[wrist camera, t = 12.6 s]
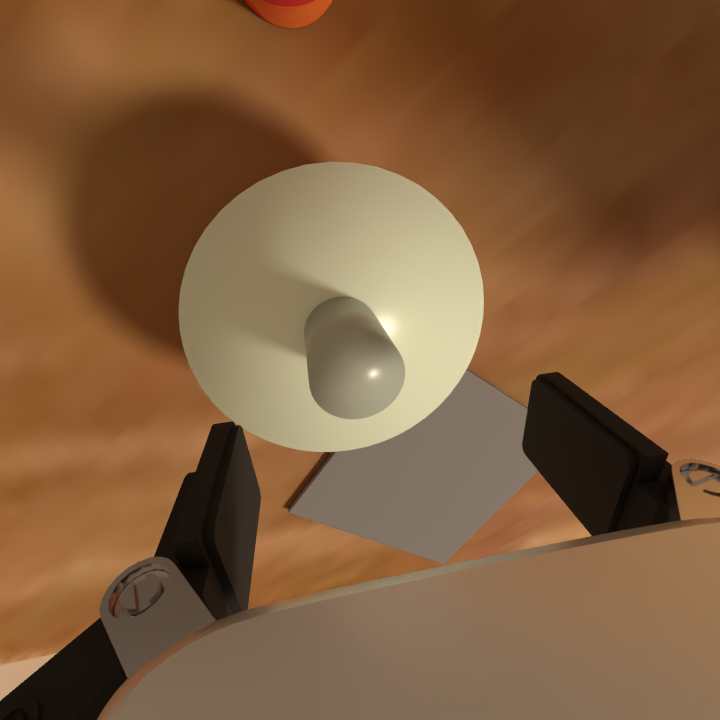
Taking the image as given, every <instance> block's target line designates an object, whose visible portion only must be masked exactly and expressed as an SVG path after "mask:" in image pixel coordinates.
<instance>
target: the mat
mask: <svg viewBox="0 0 720 720" xmlns="http://www.w3.org/2000/svg"><path fill="white" fill-rule="evenodd" d="M527 410H528V408H527V407H525V406H524V405H522V404H520V403H519V402H517V401H516V400H514V399H513V398H511V397H510V396H508V395H507V394H505V393H503V392H502V391H500V390H499V389H497V388H496V387H494V386H493V385H491V384H490V383H488V382H486V381H485V380H483V379H482V378H480V377H479V376H477V375H476V374H474V373H472V372H471V371H469V370H468V369H466V371H465V373H464V374H463V376H462V378H461V379H460V381H459V383H458V384H457V385H456V387H455V388H454V389H453V391H452V392H451V393H450V395H449V396H448V397H447V398H446V399H445V400H444V401H443V402H442V403H441V404H440V405H439V406H438V407H437V408H436V409H435V410H434V411H433V412H432V413H430V414H429V415H428V416H427V417H426V418H424V419H423V420H422V421H420V422H419V423H417V424H416V425H414V426H413V427H412V428H410V429H408V430H406V431H404V432H403V433H401V434H399V435H397V436H395V437H392V438H390V439H388V440H385V441H383V442H380V443H377V444H374V445H371V446H368V447H363V448H358V449H354V450H347V451H337V452H332V453H331V455H330V456H329V457H328V458H327V460H326V461H325V462H324V464H323V465H322V466H321V467H320V469H319V470H318V471H317V473H316V474H315V475H314V476H313V478H312V479H311V480H310V482H309V483H308V484H307V485H306V487H305V488H304V489H303V491H302V492H301V493H300V494H299V496H298V497H297V498H296V500H295V501H294V502H293V503H292V505H291V506H290V507H289V513H290V514H293V515H296V516H300V517H303V518H306V519H309V520H312V521H315V522H318V523H321V524H324V525H327V526H330V527H333V528H336V529H339V530H342V531H345V532H348V533H351V534H354V535H357V536H360V537H363V538H366V539H369V540H372V541H375V542H378V543H382V544H385V545H388V546H391V547H394V548H397V549H400V550H403V551H406V552H409V553H412V554H415V555H418V556H421V557H424V558H427V559H430V560H433V561H436V562H439V563H442V564H444V563H445V562H446V561H447V560H448V559H449V558H450V557H451V556H452V555H453V554H454V553H455V552H456V551H457V550H458V549H459V548H460V547H461V546H462V545H463V544H464V543H465V542H466V541H467V540H468V539H469V538H470V537H471V536H472V535H473V534H474V533H475V532H476V531H477V530H479V529H480V528H481V527H482V526H483V525H484V524H485V523H486V522H487V521H488V520H489V519H490V518H491V517H492V516H493V515H494V514H495V513H496V512H497V511H498V510H499V509H500V508H501V507H502V506H503V505H504V504H505V503H506V502H507V501H508V500H509V499H510V498H511V497H512V496H513V495H514V494H515V493H516V492H517V491H518V490H519V489H520V488H521V487H522V486H523V485H524V484H525V483H526V482H527V481H529V480H530V479H531V478H532V477H533V476H534V475H535V474H536V473H537V472H538V470H537V469H536V467H535V466H534V465H533V464H532V463H531V461H530V460H529V459H528V458H527V456H526V455H525V454H524V452H523V448H522V441H523V435H524V428H525V422H526V416H527Z"/></svg>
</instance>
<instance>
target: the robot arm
mask: <svg viewBox="0 0 720 720" xmlns="http://www.w3.org/2000/svg"><path fill="white" fill-rule="evenodd" d="M522 448H523V452H524V454H525V455H526V456H527V458H528V459H529V460H530V461H531V463H532V464H533V465H534V466H535V467H536V469H537V470H538V471H539V472H540V473H541V475H542V476H543V477H544V478H545V480H546V481H547V482H548V483H549V484H550V486H551V487H552V488H553V489H554V490H555V492H556V493H557V494H558V495H559V496H560V498H561V499H562V500H563V501H564V503H565V504H566V505H567V506H568V507H569V509H570V510H571V511H572V512H573V513H574V515H575V516H576V517H577V518H578V520H579V521H580V522H581V523H582V524H583V526H584V527H585V528H586V529H587V530H588V532H589V533H590V534H591V535H592V536H591V537H586V538H581V539H576V540H571V541H565V542H560V543H555V544H550V545H545V546H540V547H535V548H530V549H525V550H520V551H515V552H510V553H505V554H500V555H495V556H490V557H485V558H480V559H475V560H471V561H466V562H461V563H456V564H451V565H446V566H441V567H436V568H431V569H426V570H422V571H417V572H412V573H407V574H402V575H398V576H393V577H388V578H383V579H378V580H374V581H369V582H364V583H359V584H354V585H350V586H345V587H340V588H335V589H331V590H327V591H322V592H318V593H313V594H309V595H305V596H300V597H296V598H291V599H287V600H282V601H278V602H274V603H270V604H267V605H263V606H259V607H256V608H252V609H249V610H247V609H248V602H249V593H250V585H251V577H252V568H253V560H254V552H255V543H256V535H257V527H258V518H259V510H260V501H261V496H260V489H259V485H258V482H257V478H256V475H255V471H254V468H253V464H252V461H251V457H250V454H249V450H248V447H247V443H246V440H245V436H244V433H243V429H242V427H241V425H237V426H235V424H234V422H225V423H219V424H214V425H212V427H211V430H210V433H209V436H208V439H207V442H206V444H205V447H204V450H203V453H202V456H201V458H200V461H199V464H198V467H197V470H196V472H193V473H188V474H187V475H186V476H185V478H184V480H183V483H182V486H181V488H180V491H179V493H178V496H177V499H176V501H175V504H174V506H173V509H172V512H171V514H170V517H169V519H168V522H167V525H166V527H165V530H164V532H163V535H162V538H161V540H160V543H159V545H158V548H157V551H156V553H155V556H154V557H151V558H147V559H145V560H142V561H139V562H137V563H136V564H134V565H132V566H131V567H129V568H127V569H126V570H125V571H124V572H123V573H121V574H120V575H119V576H118V577H117V578H116V579H115V580H114V581H113V583H112V584H111V585H110V586H109V587H108V589H107V591H106V593H105V594H104V596H103V598H102V601H101V605H100V609H99V610H100V616H101V618H99V619H98V620H97V621H96V622H95V623H93V624H92V625H91V626H90V627H89V628H87V629H86V630H85V631H84V632H83V633H81V634H80V635H79V636H78V637H77V638H75V639H74V640H73V641H72V642H71V643H69V644H68V645H67V646H66V647H65V648H63V649H62V650H61V651H60V652H59V653H57V654H56V655H55V656H54V657H53V658H51V659H50V660H49V661H48V662H47V663H45V664H44V665H43V666H42V667H41V668H39V669H38V670H37V671H36V672H34V673H33V674H32V675H31V676H30V677H28V678H27V679H26V680H25V681H24V682H23V683H21V684H20V685H19V686H18V687H16V688H15V689H14V690H13V691H12V692H10V693H9V694H8V695H7V696H6V697H4V698H3V699H2V700H1V701H0V720H720V466H718V465H716V464H713V463H709V462H706V461H702V460H696V459H682V460H678V461H676V462H675V463H674V464H672V465H671V464H670V463H668V462H667V461H666V459H667V456H668V454H669V453H667V452H666V451H665V450H663V449H662V448H660V447H659V446H658V445H656V444H655V443H654V442H652V441H651V440H650V439H648V438H647V437H646V436H644V435H643V434H642V433H640V432H639V431H637V430H636V429H635V428H633V427H632V426H631V425H629V424H628V423H627V422H625V421H624V420H623V419H621V418H620V417H619V416H617V415H616V414H614V413H613V412H612V411H610V410H609V409H608V408H606V407H605V406H604V405H602V404H601V403H600V402H598V401H597V400H595V399H594V398H593V397H591V396H590V395H589V394H587V393H586V392H585V391H583V390H582V389H581V388H579V387H578V386H577V385H575V384H574V383H572V382H571V381H570V380H568V379H567V378H566V377H564V376H563V375H562V374H560V373H558V372H553V373H546V374H540V375H538V376H537V378H536V380H533V382H532V385H531V391H530V397H529V404H528V410H527V416H526V422H525V428H524V435H523V441H522Z"/></svg>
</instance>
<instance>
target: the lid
mask: <svg viewBox="0 0 720 720" xmlns="http://www.w3.org/2000/svg"><path fill="white" fill-rule="evenodd" d="M483 306H484V296H483V283H482V278H481V273H480V268H479V264H478V261H477V258H476V256H475V253H474V250H473V247H472V245H471V243H470V241H469V240H468V238H467V236H466V234H465V232H464V230H463V228H462V227H461V226H460V224H459V223H458V222H457V220H456V219H455V218H454V216H453V215H452V214H451V212H450V211H449V210H448V209H447V208H446V207H445V206H444V205H443V204H442V203H441V202H440V201H439V200H438V199H437V198H436V197H434V196H433V195H432V194H430V193H429V192H427V191H426V190H425V189H423V188H422V187H421V186H419V185H418V184H416V183H414V182H412V181H410V180H408V179H406V178H405V177H403V176H401V175H399V174H396V173H393V172H390V171H387V170H385V169H382V168H379V167H375V166H370V165H364V164H359V163H353V162H323V163H315V164H307V165H302V166H299V167H295V168H291V169H288V170H284V171H281V172H279V173H277V174H274V175H272V176H270V177H268V178H265V179H263V180H261V181H259V182H257V183H256V184H254V185H253V186H251V187H249V188H248V189H246V190H245V191H243V192H242V193H240V194H239V195H238V196H236V197H235V198H234V199H233V200H232V201H231V202H230V203H228V204H227V205H226V206H225V207H224V208H223V209H222V210H221V211H220V212H219V213H218V214H217V215H216V217H215V218H214V219H213V220H212V221H211V223H210V224H209V225H208V226H207V227H206V229H205V230H204V232H203V234H202V235H201V237H200V239H199V240H198V242H197V243H196V245H195V247H194V249H193V251H192V254H191V256H190V258H189V261H188V263H187V266H186V268H185V272H184V276H183V280H182V284H181V289H180V298H179V310H178V312H179V327H180V335H181V339H182V344H183V348H184V352H185V355H186V357H187V360H188V363H189V365H190V368H191V370H192V372H193V374H194V376H195V377H196V379H197V381H198V383H199V385H200V386H201V388H202V389H203V390H204V392H205V393H206V394H207V396H208V397H209V398H210V400H211V401H212V402H213V403H214V404H215V405H216V406H217V407H218V408H219V409H220V410H221V411H222V412H223V413H224V414H225V415H226V416H227V417H229V418H230V419H231V420H232V421H234V422H235V423H236V424H237V425H241V427H242V428H244V429H245V430H247V431H249V432H250V433H252V434H254V435H256V436H258V437H260V438H262V439H265V440H267V441H269V442H272V443H275V444H278V445H281V446H284V447H289V448H293V449H298V450H305V451H314V452H337V451H347V450H354V449H358V448H363V447H368V446H371V445H374V444H377V443H380V442H383V441H385V440H388V439H390V438H392V437H395V436H397V435H399V434H401V433H403V432H404V431H406V430H408V429H410V428H412V427H413V426H414V425H416V424H417V423H419V422H420V421H422V420H423V419H424V418H426V417H427V416H428V415H429V414H430V413H432V412H433V411H434V410H435V409H436V408H437V407H438V406H439V405H440V404H441V403H442V402H443V401H444V400H445V399H446V398H447V397H448V396H449V395H450V393H451V392H452V391H453V389H454V388H455V387H456V385H457V384H458V383H459V381H460V379H461V378H462V376H463V374H464V373H465V371H466V369H467V368H468V365H469V363H470V361H471V359H472V356H473V354H474V352H475V349H476V346H477V342H478V339H479V336H480V331H481V326H482V320H483Z"/></svg>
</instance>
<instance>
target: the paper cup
mask: <svg viewBox="0 0 720 720" xmlns="http://www.w3.org/2000/svg"><path fill="white" fill-rule="evenodd" d="M332 1H333V0H245V2H246V3H247V4H248V5H249V6H250V8H251V9H252V10H253V11H254V12H255V13H256V14H257V15H259V16H260V17H261V18H263V19H264V20H265V21H267V22H269V23H271V24H273V25H275V26H278V27H281V28H286V29H297V28H302V27H305V26H308V25H310V24H312V23H313V22H315V21H316V20H318V19H319V18H320V17H321V16H322V15H323V14H324V13H325V12H326V10H327V9H328V8H329V6H330V4H331V3H332Z"/></svg>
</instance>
